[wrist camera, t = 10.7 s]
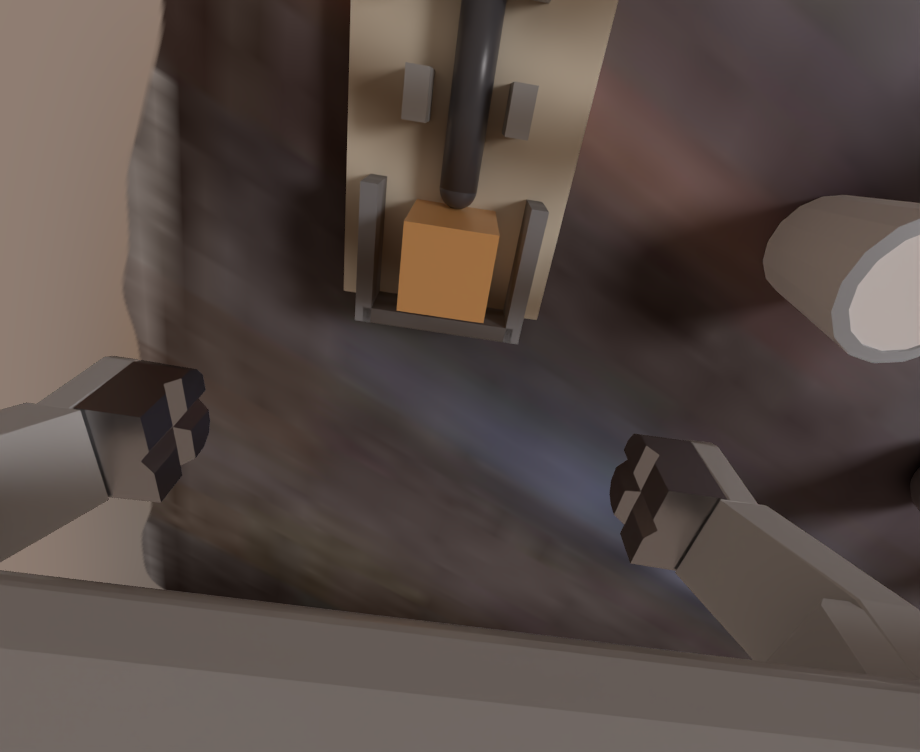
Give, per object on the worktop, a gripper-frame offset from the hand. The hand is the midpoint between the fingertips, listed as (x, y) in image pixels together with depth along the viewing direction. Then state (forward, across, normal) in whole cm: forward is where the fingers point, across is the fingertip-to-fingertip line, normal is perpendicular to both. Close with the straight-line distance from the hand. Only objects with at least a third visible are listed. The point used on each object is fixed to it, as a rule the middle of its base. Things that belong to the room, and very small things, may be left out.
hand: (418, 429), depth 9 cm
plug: (+18, 0, -4) cm, 18 cm away
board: (+19, 0, -5) cm, 20 cm away
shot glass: (+19, -20, -1) cm, 28 cm away
